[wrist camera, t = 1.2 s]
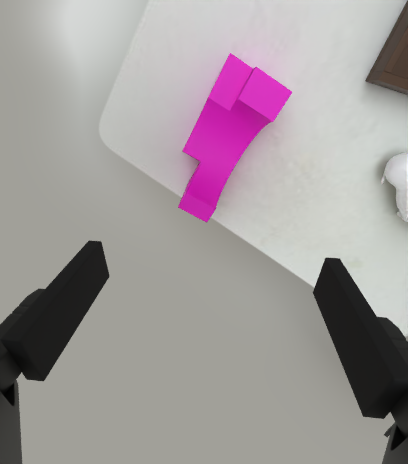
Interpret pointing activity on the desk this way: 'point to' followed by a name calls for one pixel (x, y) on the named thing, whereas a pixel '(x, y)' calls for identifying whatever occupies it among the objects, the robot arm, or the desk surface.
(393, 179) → the white lumpy piece
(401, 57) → the dark brown rectangular tray
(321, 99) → the desk surface
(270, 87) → the magenta curved bracket
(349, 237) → the desk surface
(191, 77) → the desk surface
